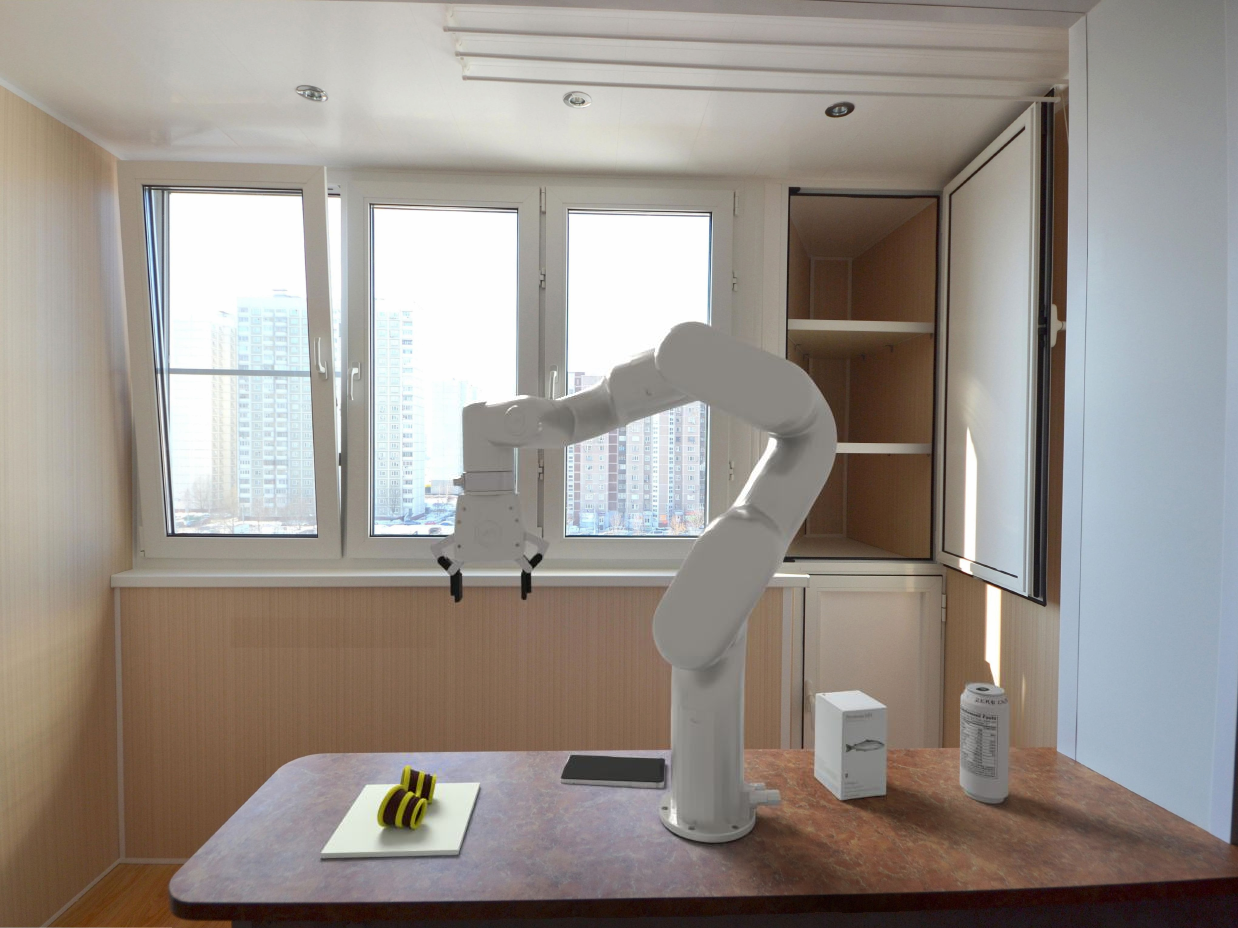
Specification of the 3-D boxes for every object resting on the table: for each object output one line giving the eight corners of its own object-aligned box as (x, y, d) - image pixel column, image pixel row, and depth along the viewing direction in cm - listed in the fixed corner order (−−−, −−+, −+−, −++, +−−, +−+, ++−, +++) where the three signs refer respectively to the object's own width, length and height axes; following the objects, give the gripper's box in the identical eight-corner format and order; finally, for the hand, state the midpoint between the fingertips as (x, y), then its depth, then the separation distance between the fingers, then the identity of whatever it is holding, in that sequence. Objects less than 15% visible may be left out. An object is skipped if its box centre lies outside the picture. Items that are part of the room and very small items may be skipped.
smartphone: (569, 753, 103) (665, 757, 102) (569, 761, 103) (665, 764, 102) (559, 778, 95) (663, 782, 94) (560, 787, 95) (663, 791, 94)
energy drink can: (1018, 799, 91) (1019, 691, 91) (990, 809, 88) (991, 698, 88) (977, 780, 96) (978, 678, 96) (950, 789, 94) (951, 684, 94)
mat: (480, 786, 94) (480, 782, 94) (458, 854, 78) (458, 849, 78) (366, 788, 93) (366, 784, 93) (320, 858, 77) (320, 853, 77)
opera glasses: (415, 842, 81) (422, 802, 81) (372, 833, 81) (380, 794, 81) (436, 800, 91) (443, 765, 91) (398, 793, 91) (405, 757, 90)
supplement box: (840, 802, 90) (841, 710, 90) (813, 776, 97) (813, 691, 97) (888, 796, 92) (889, 706, 92) (857, 771, 99) (858, 688, 99)
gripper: (424, 486, 93) (426, 607, 93) (547, 483, 94) (549, 602, 94) (434, 484, 100) (437, 596, 100) (548, 482, 102) (550, 592, 102)
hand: (491, 599), depth 97 cm, fingers open, 9 cm apart
